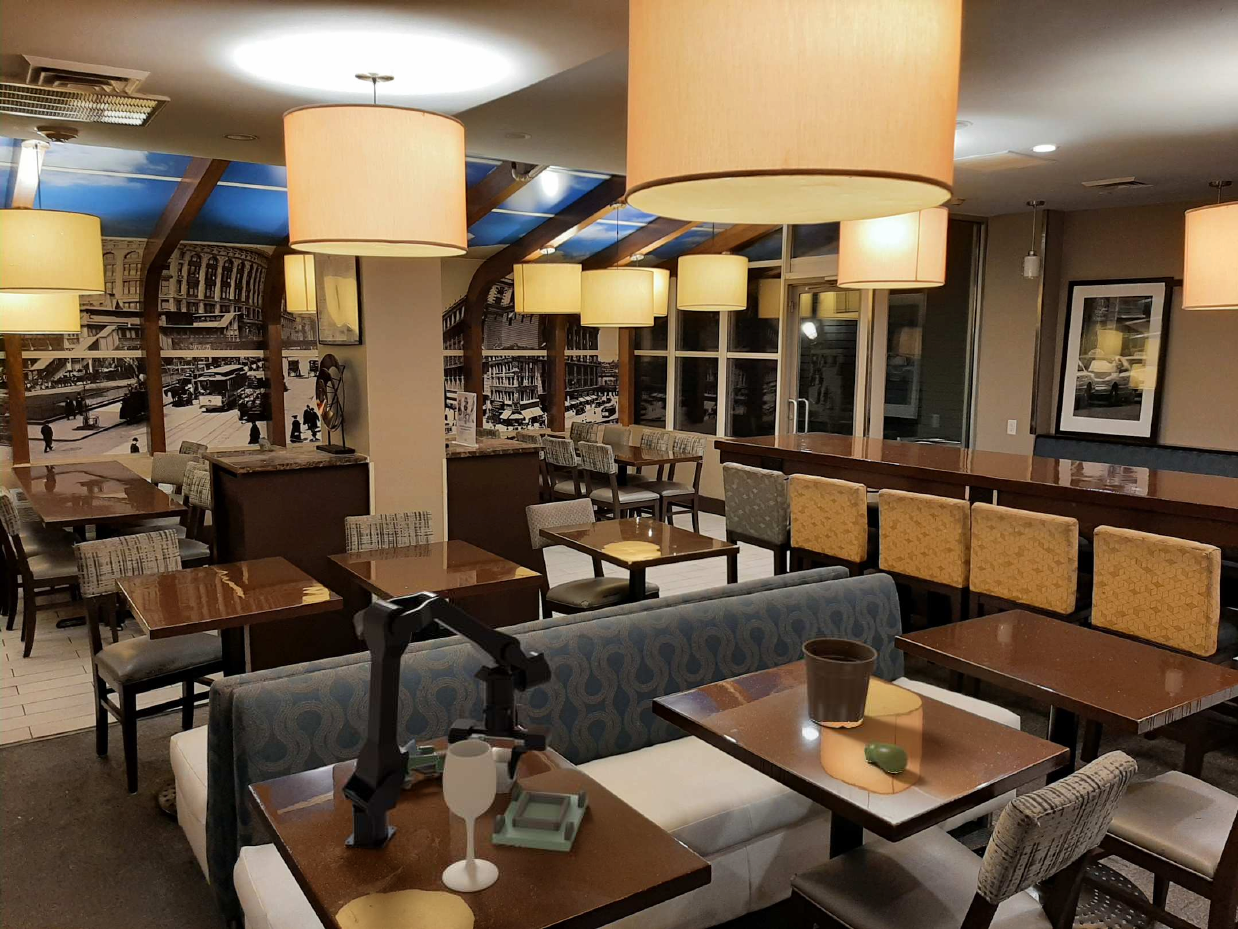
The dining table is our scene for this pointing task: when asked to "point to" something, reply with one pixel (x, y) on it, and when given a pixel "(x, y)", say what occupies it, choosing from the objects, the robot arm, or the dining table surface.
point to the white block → (503, 769)
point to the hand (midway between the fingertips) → (500, 777)
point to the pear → (887, 756)
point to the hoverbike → (423, 761)
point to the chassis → (540, 819)
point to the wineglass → (469, 808)
